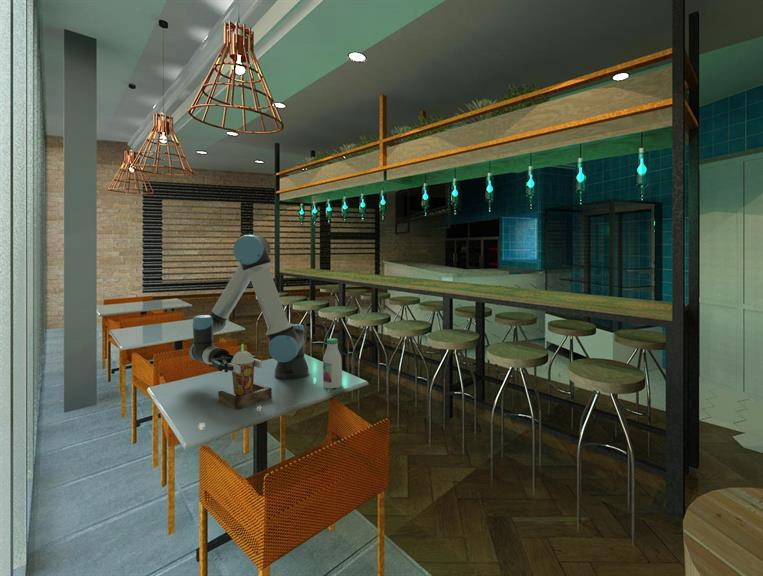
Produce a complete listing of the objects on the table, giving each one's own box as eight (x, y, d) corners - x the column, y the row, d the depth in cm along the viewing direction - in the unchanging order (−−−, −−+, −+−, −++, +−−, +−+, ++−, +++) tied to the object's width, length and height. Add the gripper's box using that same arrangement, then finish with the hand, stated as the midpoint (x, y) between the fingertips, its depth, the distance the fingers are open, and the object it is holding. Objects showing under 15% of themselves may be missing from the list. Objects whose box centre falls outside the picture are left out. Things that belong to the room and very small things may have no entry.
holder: (252, 391, 165) (252, 381, 165) (271, 397, 158) (271, 387, 158) (218, 402, 153) (218, 391, 153) (237, 409, 146) (236, 398, 146)
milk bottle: (339, 382, 177) (339, 336, 175) (343, 388, 169) (343, 340, 167) (321, 384, 174) (321, 337, 172) (325, 390, 167) (324, 341, 165)
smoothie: (227, 395, 156) (226, 343, 154) (248, 390, 162) (246, 340, 160) (238, 401, 150) (237, 347, 148) (259, 395, 156) (258, 343, 154)
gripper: (239, 360, 175) (273, 370, 161) (191, 372, 158) (224, 384, 144) (239, 343, 174) (273, 351, 160) (190, 352, 157) (224, 363, 143)
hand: (250, 367), depth 152 cm, fingers closed on smoothie, 8 cm apart
